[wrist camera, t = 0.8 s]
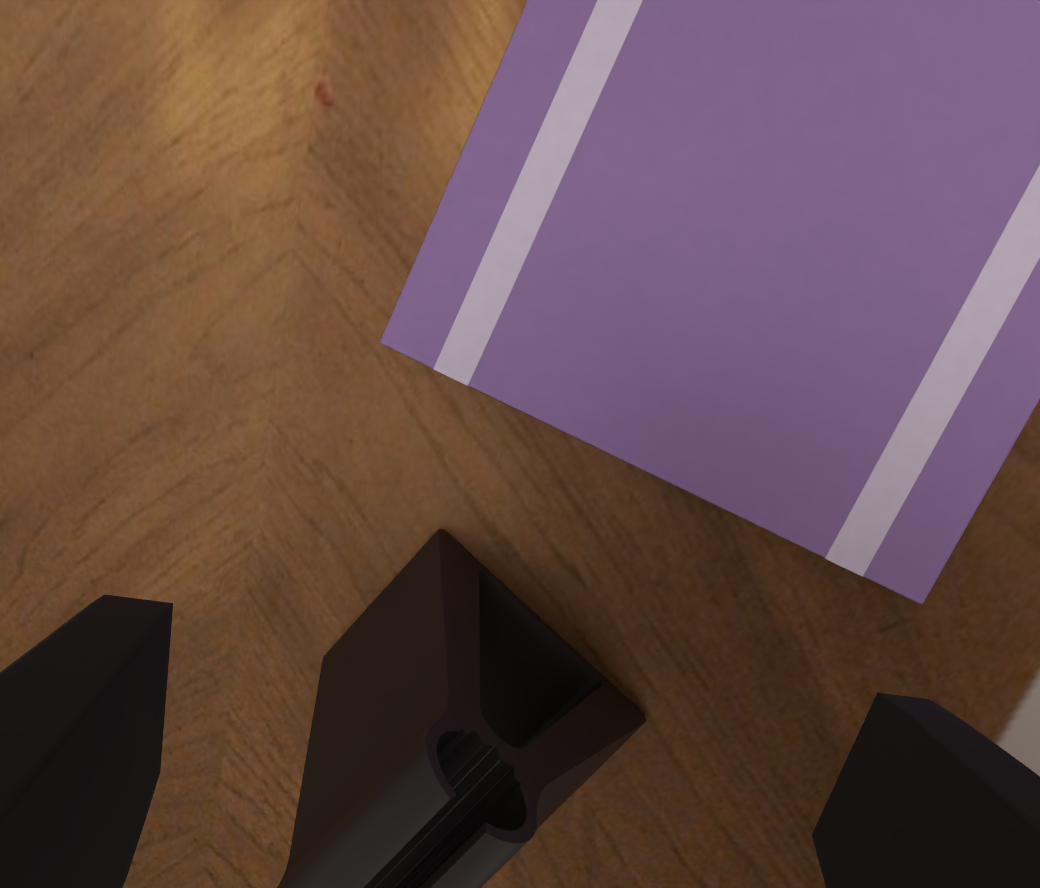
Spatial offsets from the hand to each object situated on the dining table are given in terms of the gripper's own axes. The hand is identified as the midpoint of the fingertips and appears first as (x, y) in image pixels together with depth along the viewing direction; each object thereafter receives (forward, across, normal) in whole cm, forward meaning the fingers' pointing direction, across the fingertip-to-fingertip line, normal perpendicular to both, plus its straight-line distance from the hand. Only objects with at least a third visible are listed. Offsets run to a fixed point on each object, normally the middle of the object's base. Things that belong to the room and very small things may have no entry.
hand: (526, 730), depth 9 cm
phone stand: (+17, -3, +12) cm, 21 cm away
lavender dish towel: (+20, -10, -9) cm, 24 cm away
